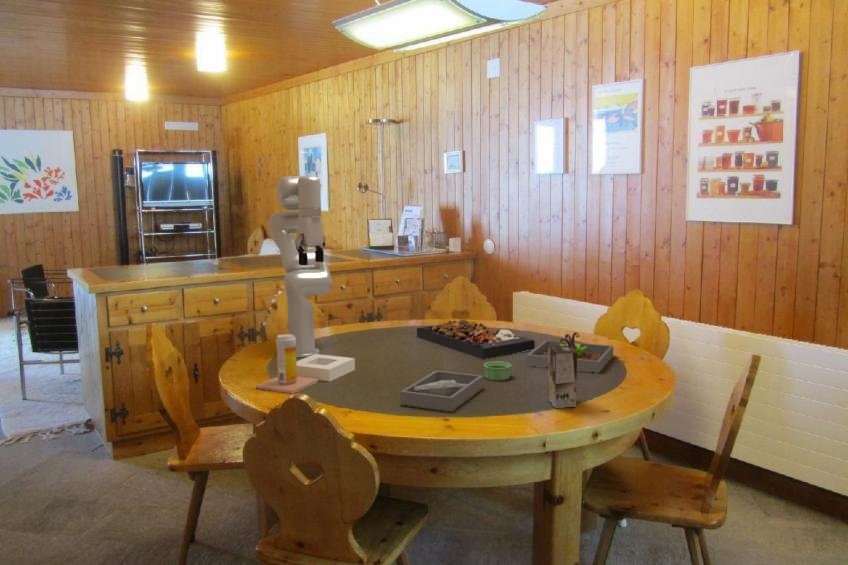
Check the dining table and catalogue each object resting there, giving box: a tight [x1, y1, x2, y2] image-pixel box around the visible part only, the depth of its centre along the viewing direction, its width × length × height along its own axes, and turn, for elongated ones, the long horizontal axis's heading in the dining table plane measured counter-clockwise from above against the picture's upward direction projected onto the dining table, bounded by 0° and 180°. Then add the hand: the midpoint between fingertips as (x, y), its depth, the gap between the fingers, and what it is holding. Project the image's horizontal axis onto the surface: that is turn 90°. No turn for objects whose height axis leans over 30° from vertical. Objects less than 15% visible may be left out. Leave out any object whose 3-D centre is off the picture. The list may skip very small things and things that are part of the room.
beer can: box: [275, 333, 298, 384], centre depth 223 cm, size 6×6×15 cm
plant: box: [541, 331, 601, 361], centre depth 250 cm, size 20×20×11 cm
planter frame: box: [525, 339, 614, 374], centre depth 251 cm, size 25×25×4 cm
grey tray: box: [399, 370, 484, 413], centre depth 211 cm, size 16×25×4 cm, turn 155°
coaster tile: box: [255, 376, 319, 395], centre depth 224 cm, size 14×14×1 cm
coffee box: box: [547, 346, 578, 409], centre depth 202 cm, size 9×6×16 cm
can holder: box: [297, 353, 356, 382], centre depth 238 cm, size 16×16×4 cm
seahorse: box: [412, 380, 467, 397], centre depth 211 cm, size 5×12×20 cm
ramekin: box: [483, 360, 512, 382], centre depth 231 cm, size 9×9×4 cm
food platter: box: [416, 318, 536, 360], centre depth 280 cm, size 45×25×10 cm, turn 32°
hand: (311, 263), depth 242 cm, fingers open, 9 cm apart
